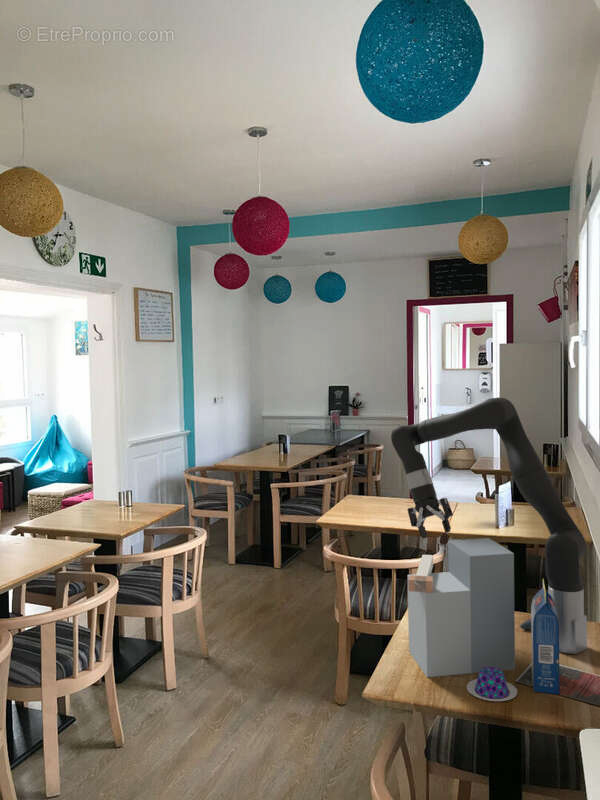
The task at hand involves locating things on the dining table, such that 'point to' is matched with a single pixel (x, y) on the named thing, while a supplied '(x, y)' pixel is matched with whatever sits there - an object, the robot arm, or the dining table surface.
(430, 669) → the riser
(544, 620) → the blue food package
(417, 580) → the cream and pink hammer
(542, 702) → the dining table surface
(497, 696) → the pudding
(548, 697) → the dining table surface
